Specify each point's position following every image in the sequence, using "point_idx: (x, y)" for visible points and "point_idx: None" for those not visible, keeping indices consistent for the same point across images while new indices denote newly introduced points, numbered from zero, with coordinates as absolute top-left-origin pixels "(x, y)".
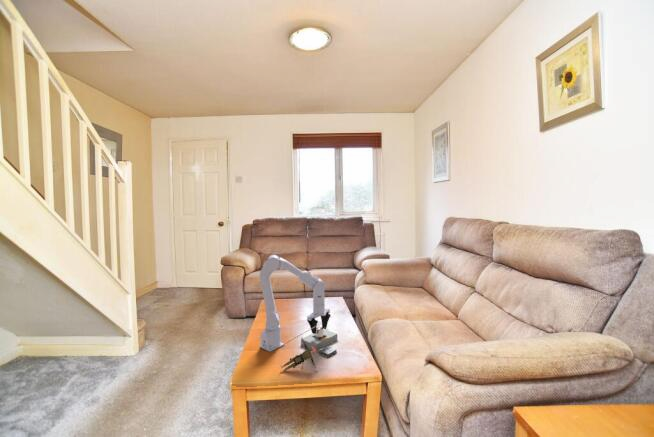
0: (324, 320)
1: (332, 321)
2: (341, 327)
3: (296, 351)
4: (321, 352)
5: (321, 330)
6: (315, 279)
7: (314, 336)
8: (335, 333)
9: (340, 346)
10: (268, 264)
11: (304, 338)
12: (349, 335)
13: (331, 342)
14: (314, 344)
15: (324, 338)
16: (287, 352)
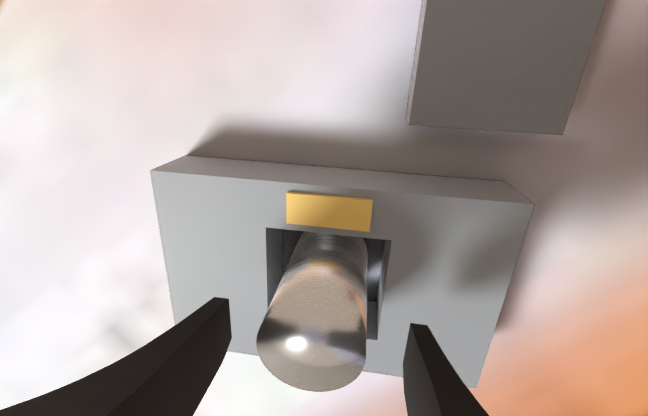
0: (163, 411)
1: (3, 362)
2: (5, 262)
3: (587, 312)
4: (575, 78)
5: (329, 303)
6: None
7: None
8: (157, 193)
9: (275, 31)
10: None
11: None
12: (40, 114)
13: (271, 162)
14: (526, 222)
15: (342, 213)
16: (635, 357)
